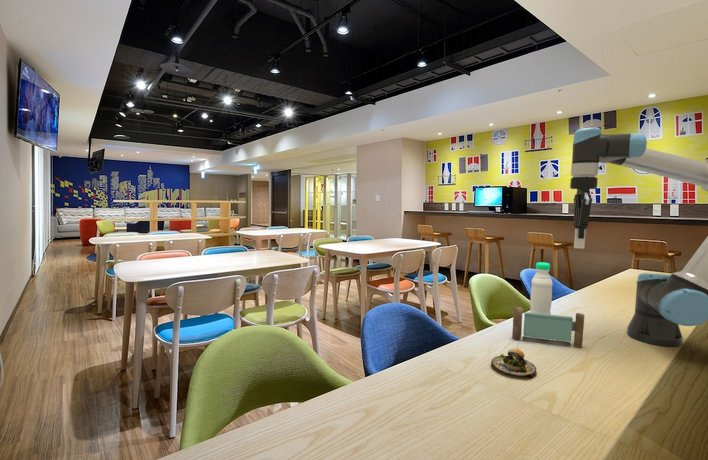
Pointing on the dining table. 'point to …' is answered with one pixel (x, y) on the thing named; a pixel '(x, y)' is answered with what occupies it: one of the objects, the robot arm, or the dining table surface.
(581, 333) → the gate frame
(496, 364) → the burger
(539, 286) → the water bottle
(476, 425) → the dining table surface
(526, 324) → the gate
